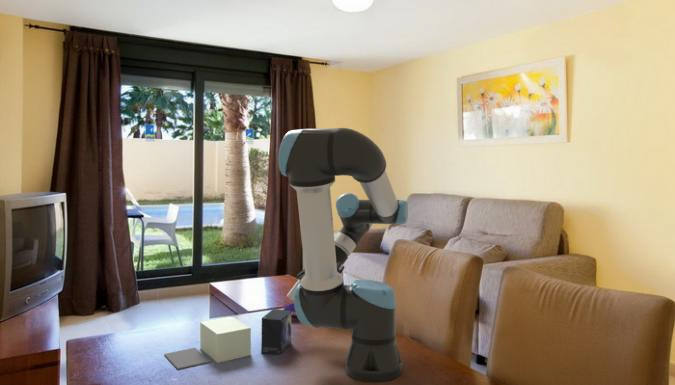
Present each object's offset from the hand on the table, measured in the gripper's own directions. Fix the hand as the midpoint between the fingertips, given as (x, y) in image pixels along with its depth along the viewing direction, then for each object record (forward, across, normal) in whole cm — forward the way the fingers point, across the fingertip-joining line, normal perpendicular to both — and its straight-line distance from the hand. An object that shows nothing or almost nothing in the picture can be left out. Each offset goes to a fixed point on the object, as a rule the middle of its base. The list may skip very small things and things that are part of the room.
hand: (300, 302), depth 152 cm
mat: (+32, +6, +15) cm, 36 cm away
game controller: (+1, +25, -18) cm, 31 cm away
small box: (+15, -1, -3) cm, 15 cm away
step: (+25, +5, +7) cm, 26 cm away
